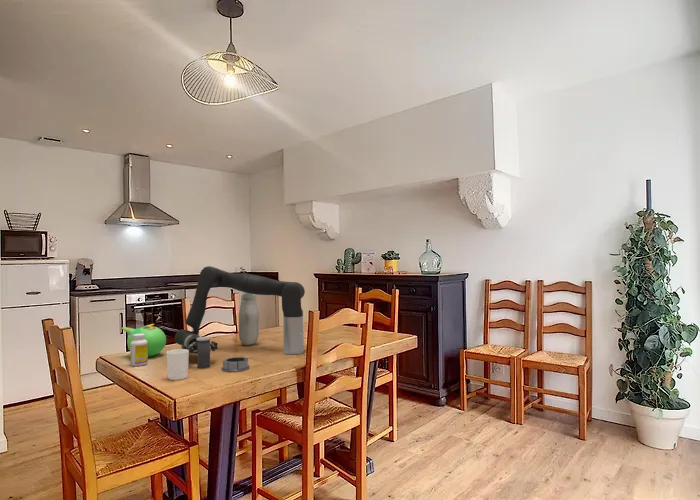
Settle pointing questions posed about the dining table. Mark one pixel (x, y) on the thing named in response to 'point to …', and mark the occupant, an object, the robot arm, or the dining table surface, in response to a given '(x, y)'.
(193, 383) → the dining table surface
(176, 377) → the white cup
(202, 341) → the white-topped grey cylinder
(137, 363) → the supplement bottle
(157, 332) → the toy bird
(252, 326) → the grey bottle
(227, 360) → the octagonal ring holder
